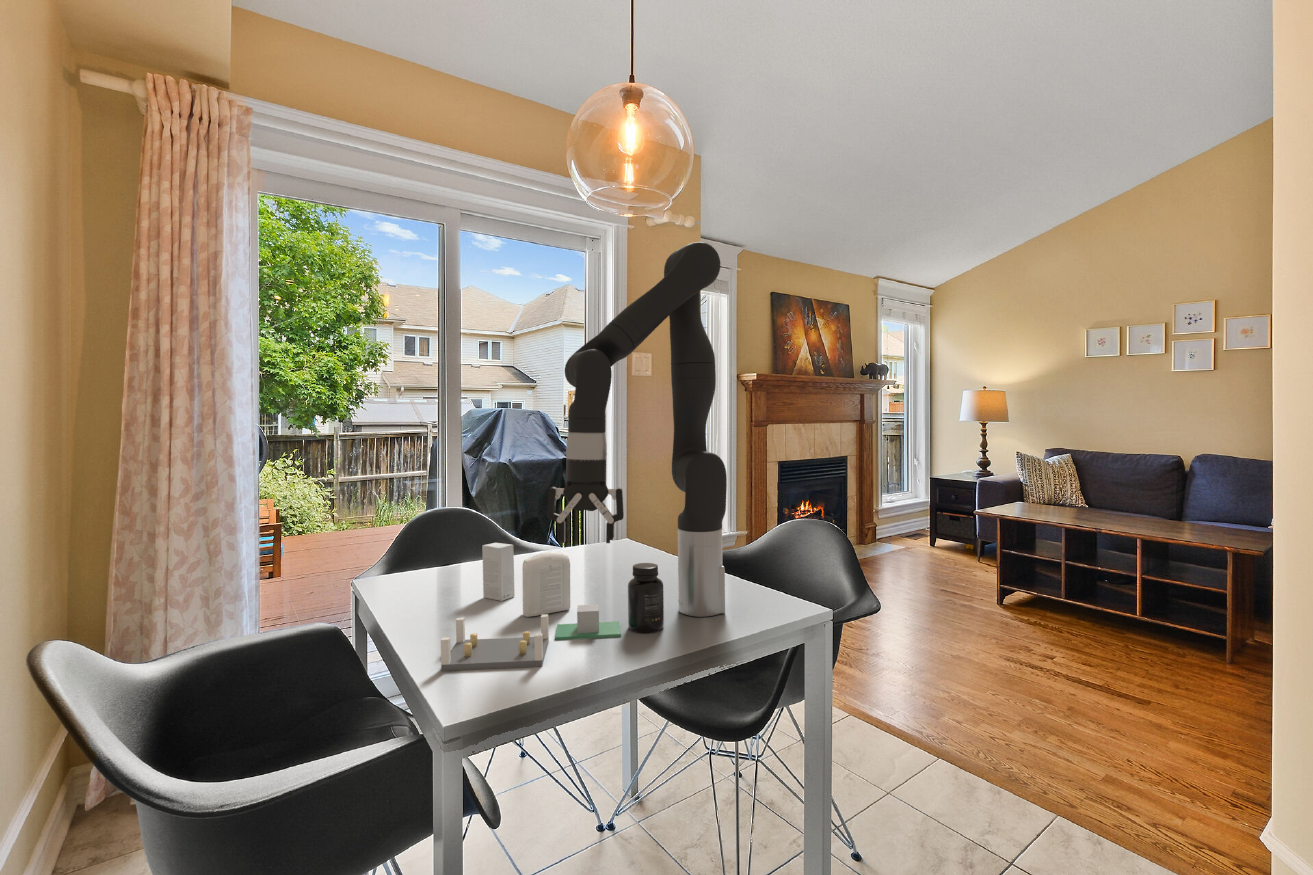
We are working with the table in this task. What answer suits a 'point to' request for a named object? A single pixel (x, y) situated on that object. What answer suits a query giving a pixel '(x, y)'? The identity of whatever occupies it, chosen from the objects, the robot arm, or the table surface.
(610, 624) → the module board
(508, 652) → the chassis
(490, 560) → the skincare box
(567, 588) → the white rounded block
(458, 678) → the table surface
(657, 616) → the supplement bottle
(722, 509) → the robot arm
